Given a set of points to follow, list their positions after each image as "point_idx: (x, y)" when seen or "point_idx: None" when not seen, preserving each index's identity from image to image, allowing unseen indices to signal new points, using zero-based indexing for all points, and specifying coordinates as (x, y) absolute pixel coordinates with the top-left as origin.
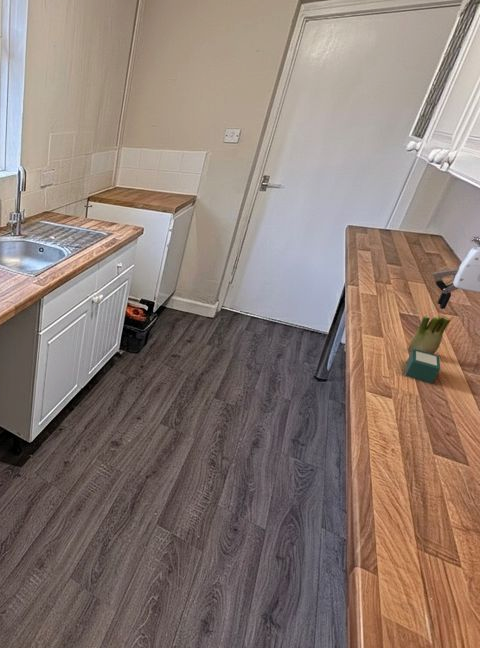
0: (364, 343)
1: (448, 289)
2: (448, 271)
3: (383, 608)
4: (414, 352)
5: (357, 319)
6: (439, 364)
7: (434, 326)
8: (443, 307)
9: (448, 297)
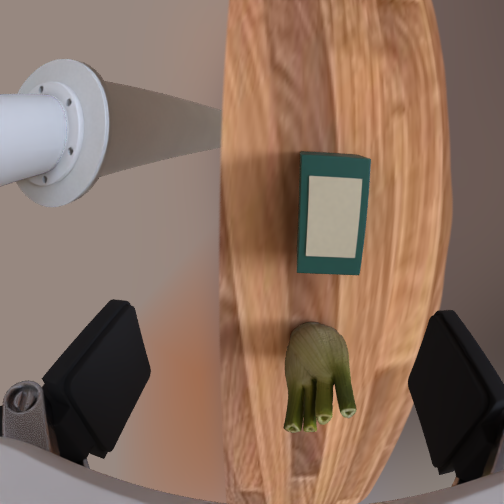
0: (423, 308)
1: None
2: None
3: None
4: (360, 244)
5: (400, 421)
6: (301, 194)
7: (318, 393)
8: (444, 316)
9: (485, 378)
